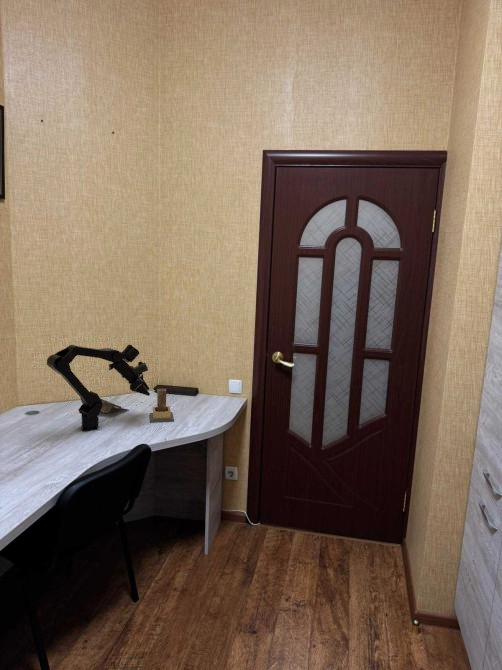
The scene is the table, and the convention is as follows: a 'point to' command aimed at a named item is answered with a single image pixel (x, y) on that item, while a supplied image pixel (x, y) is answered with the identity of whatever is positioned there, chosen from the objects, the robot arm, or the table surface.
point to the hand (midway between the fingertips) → (149, 392)
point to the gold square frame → (161, 415)
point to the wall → (108, 406)
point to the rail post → (161, 399)
